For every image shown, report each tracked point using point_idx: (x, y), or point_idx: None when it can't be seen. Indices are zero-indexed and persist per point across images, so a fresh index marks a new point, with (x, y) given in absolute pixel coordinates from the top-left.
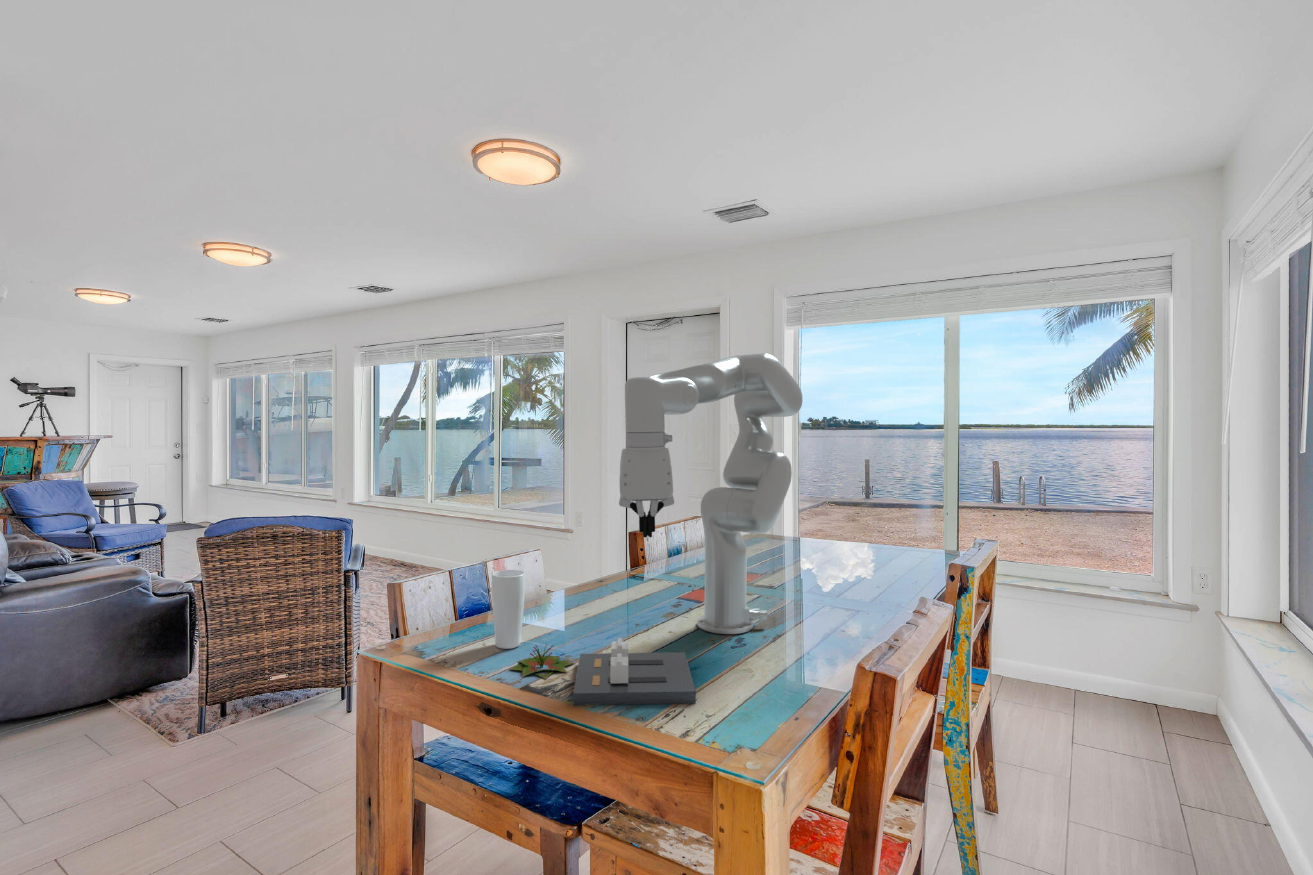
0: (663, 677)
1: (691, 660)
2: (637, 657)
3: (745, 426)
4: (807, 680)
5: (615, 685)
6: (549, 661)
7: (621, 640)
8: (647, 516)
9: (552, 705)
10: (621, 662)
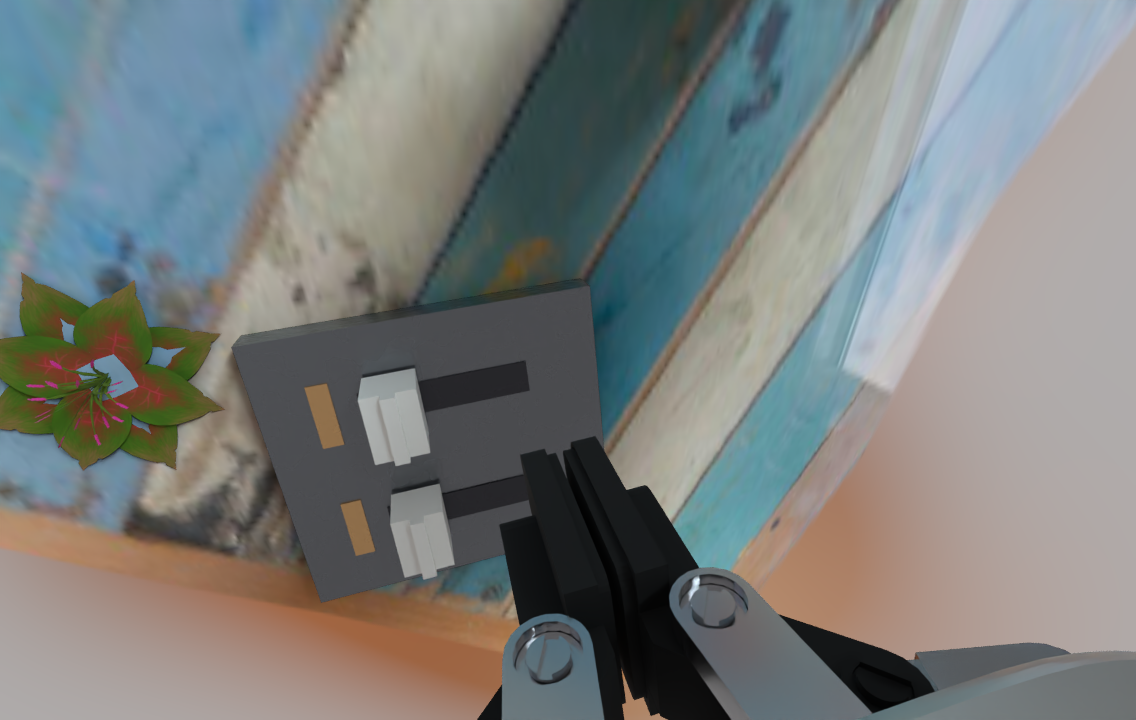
0: None
1: (600, 256)
2: (444, 350)
3: None
4: (853, 351)
5: None
6: (112, 338)
7: (398, 418)
8: (630, 660)
9: (271, 591)
10: (435, 574)
